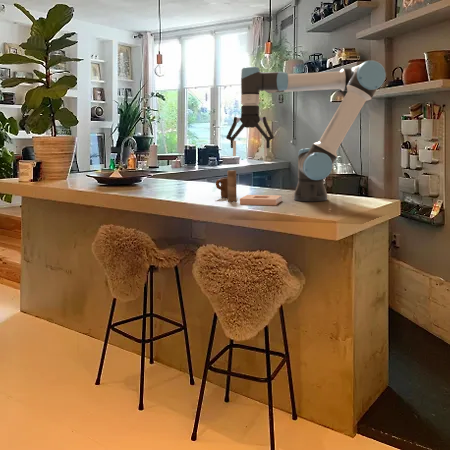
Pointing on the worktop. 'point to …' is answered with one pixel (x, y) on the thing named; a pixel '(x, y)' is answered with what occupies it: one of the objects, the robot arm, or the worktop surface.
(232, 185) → the peg
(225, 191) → the mug
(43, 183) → the worktop surface
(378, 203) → the worktop surface
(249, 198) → the socket plate
